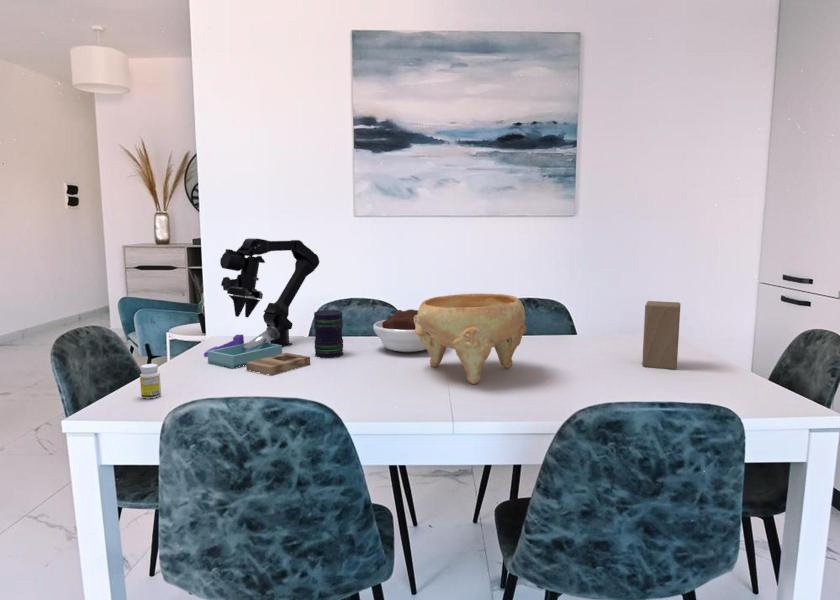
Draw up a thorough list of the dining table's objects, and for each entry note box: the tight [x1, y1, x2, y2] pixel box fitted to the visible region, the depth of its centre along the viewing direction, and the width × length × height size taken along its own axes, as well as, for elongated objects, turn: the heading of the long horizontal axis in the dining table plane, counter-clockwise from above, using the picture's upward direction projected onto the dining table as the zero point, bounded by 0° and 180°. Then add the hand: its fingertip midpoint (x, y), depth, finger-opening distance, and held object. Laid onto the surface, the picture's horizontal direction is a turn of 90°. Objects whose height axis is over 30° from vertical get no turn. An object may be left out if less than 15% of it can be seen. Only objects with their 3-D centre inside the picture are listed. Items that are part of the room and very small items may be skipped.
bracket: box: [203, 334, 245, 358], centre depth 200 cm, size 12×7×7 cm, turn 95°
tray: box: [207, 342, 283, 369], centre depth 191 cm, size 20×13×4 cm, turn 146°
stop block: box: [245, 352, 311, 376], centre depth 181 cm, size 16×11×2 cm, turn 146°
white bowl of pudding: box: [373, 308, 427, 353], centre depth 205 cm, size 25×25×15 cm
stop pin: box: [242, 325, 280, 353], centre depth 196 cm, size 5×5×13 cm
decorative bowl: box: [414, 293, 528, 385], centre depth 175 cm, size 34×35×23 cm
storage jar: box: [313, 309, 344, 359], centre depth 197 cm, size 10×10×15 cm
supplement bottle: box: [139, 363, 162, 400], centre depth 150 cm, size 5×5×8 cm
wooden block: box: [641, 300, 681, 371], centre depth 182 cm, size 10×10×20 cm
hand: (241, 317), depth 202 cm, fingers open, 9 cm apart
